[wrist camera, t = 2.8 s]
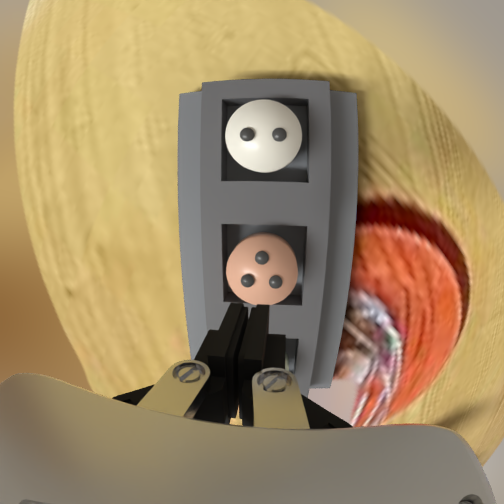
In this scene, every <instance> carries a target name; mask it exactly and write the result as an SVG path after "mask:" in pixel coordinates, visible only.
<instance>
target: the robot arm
mask: <svg viewBox="0 0 504 504" xmlns="http://www.w3.org/2000/svg"><path fill="white" fill-rule="evenodd" d="M269 312H270V305H265V304H257V306H256V307H252V308H251V312H250V316H249V319H248V307H244V304H243V303H230V305H229V307H228V309H227V312H226V314H225V316H224V318H223V321H222V323H221V325H220V327H219V330H212V329H210V330H209V331H208V333H207V335H206V337H205V339H204V341H203V343H202V345H201V347H200V348H199V350H198V352H197V354H196V356H195V358H194V360H184V361H180V362H177V363H175V364H174V365H172V366H171V367H170V368H169V369H168V370H167V372H166V373H165V374H164V375H163V376H162V377H161V378H160V380H159V381H158V382H157V383H156V384H155V385H152V386H148V387H145V388H142V389H139V390H135V391H132V392H129V393H125V394H122V395H118V396H116V397H113V398H109V397H106V396H103V395H100V394H97V393H94V392H91V391H88V390H86V389H83V388H81V387H78V386H75V385H72V384H69V383H66V382H64V381H62V380H59V379H56V378H52V377H49V376H44V375H40V374H32V373H22V374H15V375H13V376H11V377H9V378H8V379H6V380H5V381H3V382H2V383H1V384H0V504H496V500H495V497H494V495H493V492H492V489H491V486H490V484H489V481H488V479H487V477H486V474H485V473H484V470H483V468H482V466H481V464H480V462H479V460H478V458H477V456H476V455H475V453H474V451H473V450H472V448H471V447H470V445H469V444H468V443H467V441H466V440H465V439H464V438H463V437H462V436H461V435H460V434H459V433H457V432H456V431H454V430H452V429H450V428H446V427H442V426H438V425H429V424H390V425H380V426H367V427H363V426H361V427H352V426H351V425H350V424H349V423H347V422H345V421H344V420H342V419H340V418H339V417H337V416H335V415H334V414H332V413H331V412H329V411H327V410H326V409H324V408H322V407H321V406H319V405H318V404H316V403H314V402H313V401H311V400H310V399H308V398H307V397H305V396H304V395H302V394H301V393H300V389H299V385H298V382H297V379H296V377H295V375H294V374H293V373H291V372H290V371H288V370H286V369H285V355H286V334H269ZM238 406H239V417H240V419H242V425H243V426H240V425H231V424H229V423H230V419H231V418H236V415H237V410H238Z"/></svg>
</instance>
